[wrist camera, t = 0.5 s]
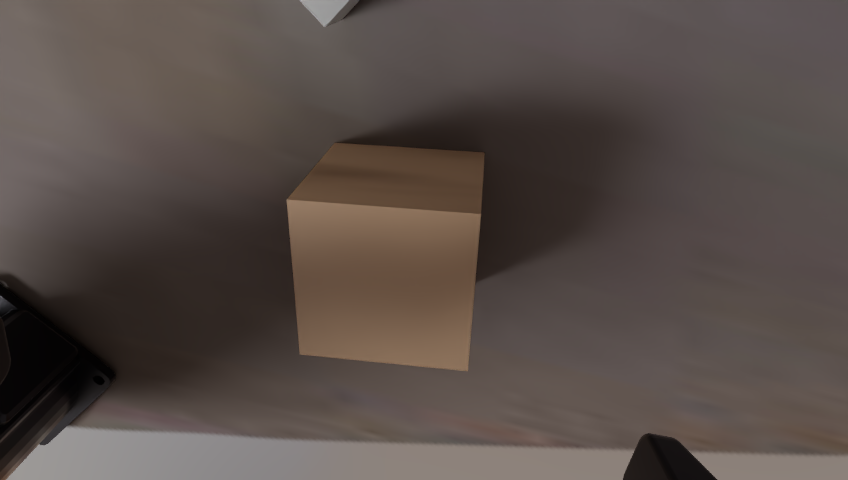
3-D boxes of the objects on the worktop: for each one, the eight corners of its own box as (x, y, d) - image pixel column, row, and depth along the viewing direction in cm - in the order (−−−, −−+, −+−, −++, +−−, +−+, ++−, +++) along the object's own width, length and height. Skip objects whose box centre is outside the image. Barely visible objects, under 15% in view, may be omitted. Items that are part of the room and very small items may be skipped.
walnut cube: (473, 282, 21) (467, 371, 17) (340, 271, 21) (300, 354, 17) (484, 151, 19) (481, 214, 14) (335, 141, 19) (286, 199, 15)
